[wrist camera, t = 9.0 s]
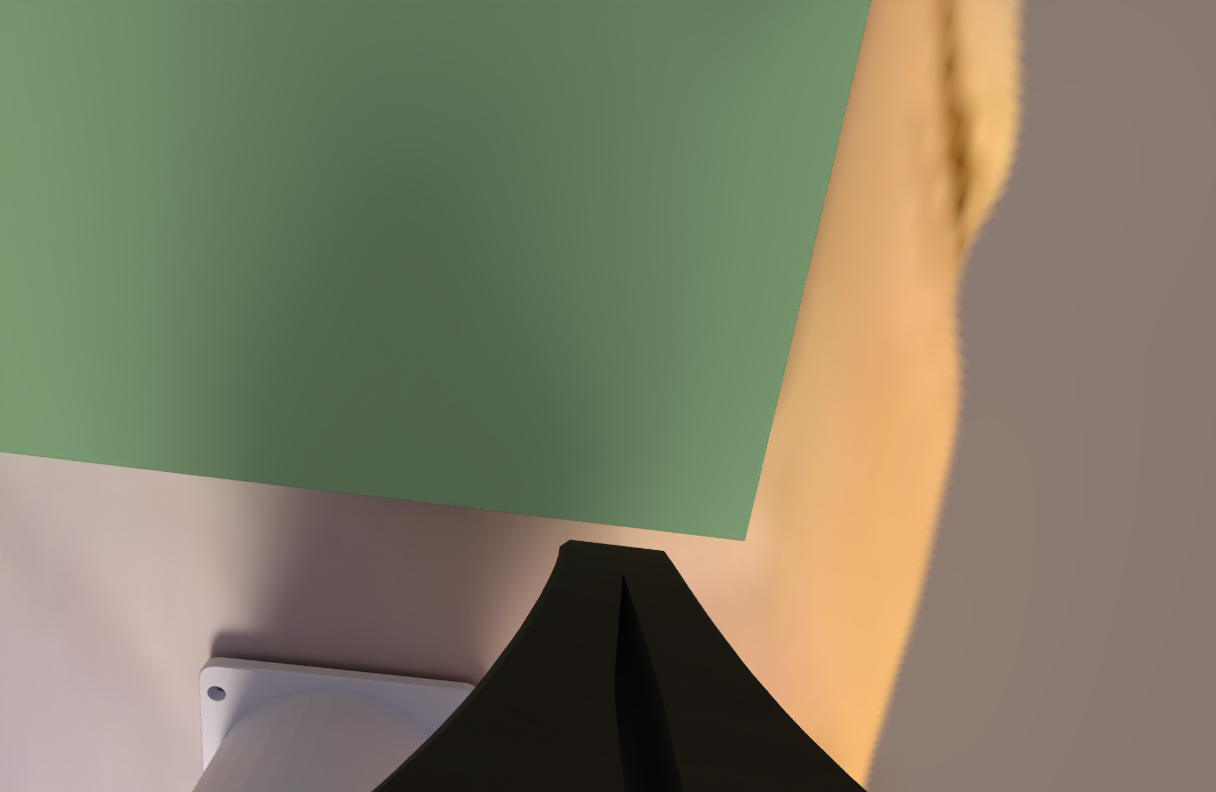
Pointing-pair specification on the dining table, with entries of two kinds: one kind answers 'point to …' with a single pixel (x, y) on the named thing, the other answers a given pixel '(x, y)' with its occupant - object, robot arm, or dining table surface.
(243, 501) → the dining table surface
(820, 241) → the dining table surface
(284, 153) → the green mini golf board
